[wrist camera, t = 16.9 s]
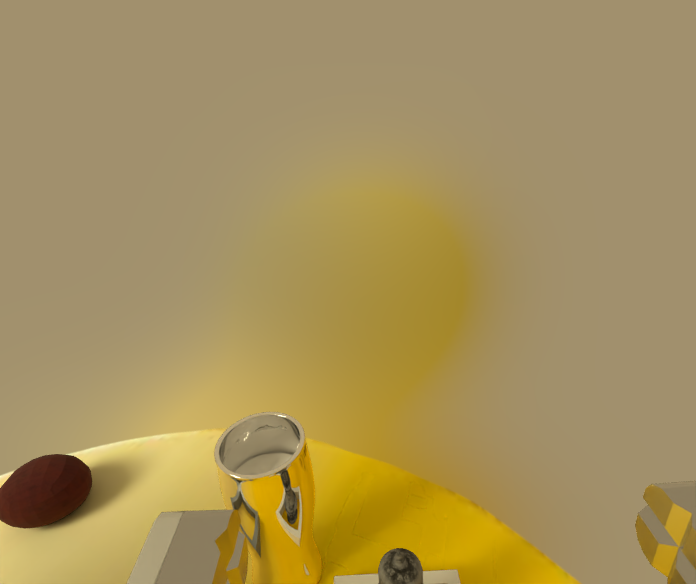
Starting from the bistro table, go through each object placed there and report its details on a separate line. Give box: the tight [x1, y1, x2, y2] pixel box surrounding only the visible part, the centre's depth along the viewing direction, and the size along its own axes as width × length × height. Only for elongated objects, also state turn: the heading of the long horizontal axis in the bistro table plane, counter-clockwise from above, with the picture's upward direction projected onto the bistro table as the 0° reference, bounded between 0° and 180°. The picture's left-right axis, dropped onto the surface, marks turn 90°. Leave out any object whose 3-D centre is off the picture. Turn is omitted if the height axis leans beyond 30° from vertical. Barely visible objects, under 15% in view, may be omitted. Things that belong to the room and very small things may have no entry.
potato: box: [0, 454, 92, 528], centre depth 45 cm, size 7×8×6 cm
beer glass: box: [214, 412, 322, 584], centre depth 35 cm, size 7×7×15 cm
